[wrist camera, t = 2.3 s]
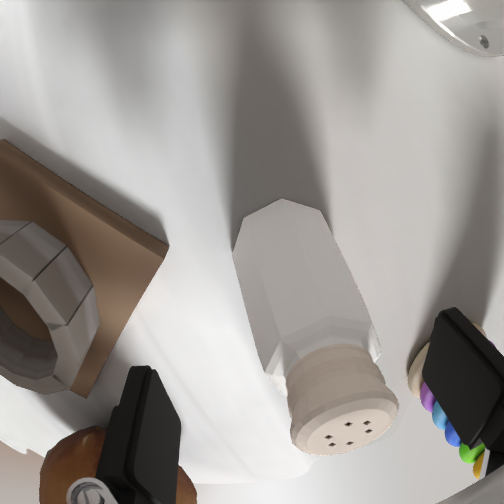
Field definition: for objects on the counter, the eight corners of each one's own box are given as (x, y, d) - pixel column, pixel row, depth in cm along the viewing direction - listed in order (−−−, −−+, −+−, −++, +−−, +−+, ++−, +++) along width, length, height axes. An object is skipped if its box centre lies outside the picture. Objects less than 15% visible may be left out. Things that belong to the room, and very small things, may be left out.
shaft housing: (4, 139, 12) (-55, 155, 8) (169, 246, 16) (147, 299, 11) (-27, 304, 17) (-60, 341, 12) (91, 384, 20) (73, 434, 16)
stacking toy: (389, 393, 23) (464, 578, 6) (427, 319, 19) (558, 533, 2) (453, 381, 23) (532, 528, 6) (491, 314, 20) (607, 469, 3)
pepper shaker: (286, 307, 18) (332, 486, 8) (210, 255, 16) (190, 452, 6) (353, 240, 16) (471, 393, 6) (279, 174, 15) (376, 310, 5)
